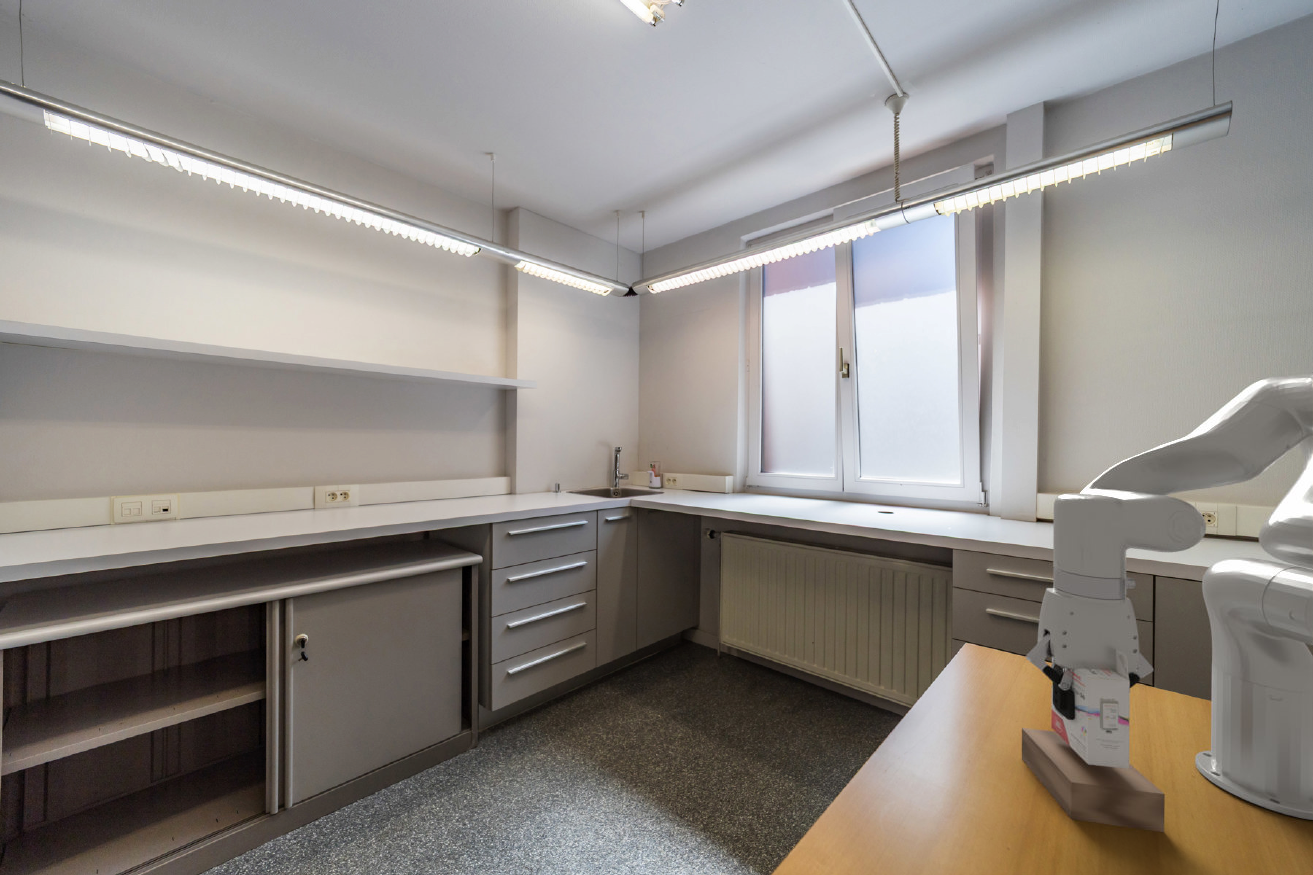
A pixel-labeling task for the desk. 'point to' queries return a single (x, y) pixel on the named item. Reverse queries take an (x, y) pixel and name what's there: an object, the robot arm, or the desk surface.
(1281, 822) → the desk surface
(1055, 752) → the walnut block
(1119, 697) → the ink cartridge box
